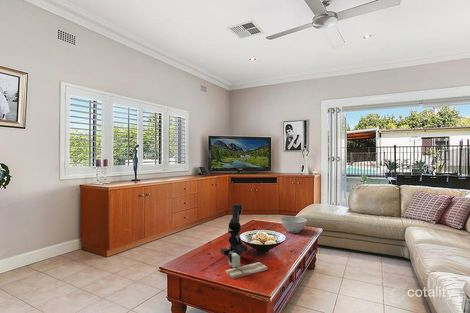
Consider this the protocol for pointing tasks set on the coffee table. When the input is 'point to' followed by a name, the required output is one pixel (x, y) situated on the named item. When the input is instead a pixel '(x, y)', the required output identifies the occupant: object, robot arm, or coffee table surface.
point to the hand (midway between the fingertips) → (234, 262)
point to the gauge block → (235, 260)
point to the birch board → (246, 270)
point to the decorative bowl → (293, 223)
